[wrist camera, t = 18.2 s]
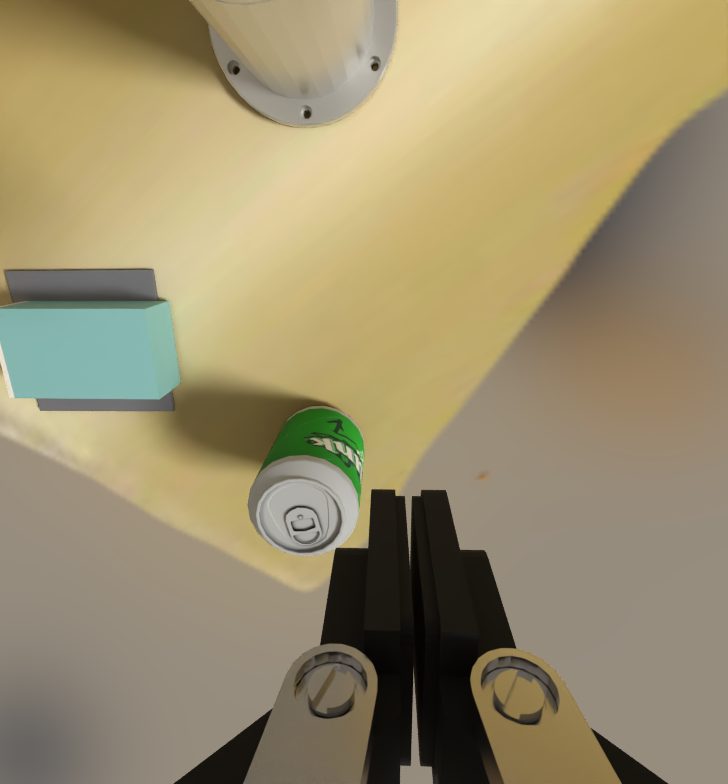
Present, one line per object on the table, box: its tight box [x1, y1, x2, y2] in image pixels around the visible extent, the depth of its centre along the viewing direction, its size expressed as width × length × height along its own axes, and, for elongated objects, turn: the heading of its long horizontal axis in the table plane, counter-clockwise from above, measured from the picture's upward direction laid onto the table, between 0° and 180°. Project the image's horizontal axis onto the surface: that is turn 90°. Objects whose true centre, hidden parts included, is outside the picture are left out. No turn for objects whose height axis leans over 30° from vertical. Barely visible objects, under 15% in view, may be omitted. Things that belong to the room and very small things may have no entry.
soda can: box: [248, 406, 365, 556], centre depth 36 cm, size 8×8×12 cm
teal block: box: [0, 301, 181, 399], centre depth 38 cm, size 7×4×12 cm
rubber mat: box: [5, 269, 175, 411], centre depth 40 cm, size 12×12×1 cm
